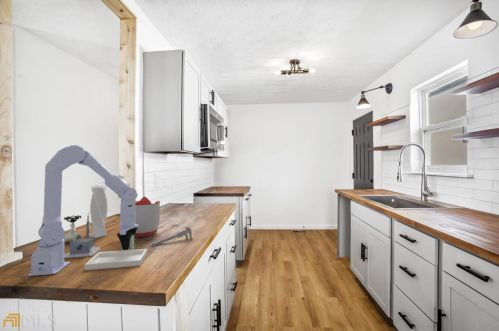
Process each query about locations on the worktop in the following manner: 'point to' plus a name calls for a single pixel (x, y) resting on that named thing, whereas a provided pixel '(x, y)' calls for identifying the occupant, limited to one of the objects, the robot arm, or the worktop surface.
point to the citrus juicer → (146, 217)
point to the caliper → (174, 236)
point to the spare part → (130, 243)
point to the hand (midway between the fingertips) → (127, 247)
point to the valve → (72, 229)
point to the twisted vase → (97, 212)
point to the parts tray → (116, 259)
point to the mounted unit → (82, 248)
